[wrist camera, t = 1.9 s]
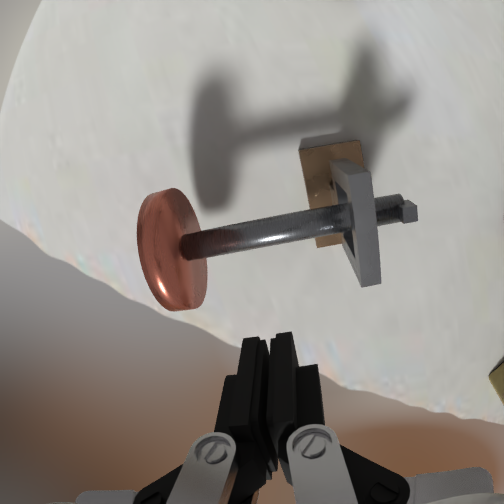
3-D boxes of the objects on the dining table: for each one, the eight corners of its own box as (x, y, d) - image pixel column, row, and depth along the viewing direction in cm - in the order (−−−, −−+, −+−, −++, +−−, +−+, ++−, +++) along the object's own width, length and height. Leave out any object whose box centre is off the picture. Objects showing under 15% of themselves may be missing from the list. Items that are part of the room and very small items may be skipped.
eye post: (298, 150, 30) (309, 165, 19) (357, 140, 29) (400, 151, 18) (316, 244, 34) (332, 305, 23) (370, 234, 33) (409, 289, 22)
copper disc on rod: (157, 186, 30) (107, 216, 20) (381, 139, 26) (428, 150, 17) (186, 279, 33) (155, 337, 24) (393, 241, 30) (433, 291, 21)
